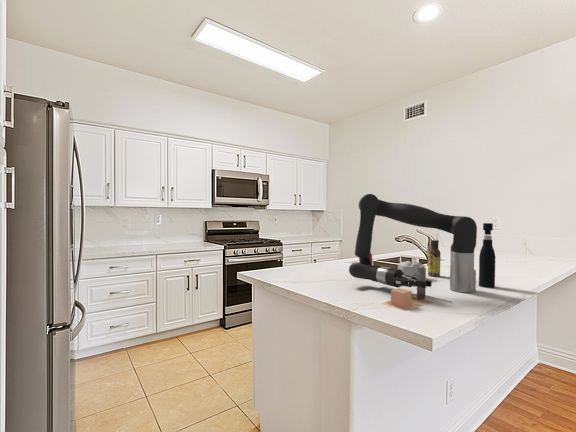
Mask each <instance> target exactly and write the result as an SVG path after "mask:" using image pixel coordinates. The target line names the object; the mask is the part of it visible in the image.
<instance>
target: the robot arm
mask: <svg viewBox="0 0 576 432" xmlns="http://www.w3.org/2000/svg"><path fill="white" fill-rule="evenodd" d="M358 209H359V210H360V216H359V217H360V218H359V226H358V231H357V235H356V241H355V247H354V248H355V249H354V256H355V257H357V258H359V259H358V260H359V262H353V263H351V264H350V265H349V268H348V272H349V274H350V275H351V276H352V277H353V278H355V279H360V280H361V279H362V280H368V281H372V282H376V283H379V284H383V285H386V286H390V287H394V288H401V287H408V288H412V287H414V288H417V287H421V288H425V289H426V288H427V287H429V288H431V287H432V284H433V283H432V281H431V280H427V279H426V282H422V281H417V275H413V276H411V275H408V274H405V275H404V273H403V271H402V270H400V269H398V268H393V267H389V266H380V265H373V264H372V265H371V259H370V252H371V249H372V242H373V231H374V224H375V219H376V216H378V217H384V218H387V219H391V220H393V221H396V222H399V223H403V224H406V225H411V226H415V227H420V228H428V229H436V230H439V231H443V232H446V233H448V234H452V236H453V238H452V239H453V240H452V244H451V245H450V259H449V260H450V264H449V265H450V266H449V267H450V268H449V270H450V271H449V277H450V278H449V289H450V290H452V291H454V292H458V293H474V292H476V287H477V285H476V283H477V282H476V281H477V278H476V277H477V270H476V269H475V249H476V246H477V235H478V227H477V222H476V221H475V220H474V219H473V218H472V217H470V216H462V215H450V214H443V213H440V212H437V211H434V210H432V209H429V208H428V207H427V208H426V207H424V206H423V207H422V206H419V205H414V204H410V203H399V202H398V203H397V202H388V201H385V200H382V199H379V198H378V197H377V195H375V194H373V193H366V194H363V196H361V197H360V199H359V202H358Z"/></svg>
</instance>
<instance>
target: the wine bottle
mask: <svg viewBox="0 0 576 432" xmlns="http://www.w3.org/2000/svg"><path fill="white" fill-rule="evenodd" d="M493 229H494V223H493V222H492V223H489V222H487V223H485V222H483V223H482V230H483V231H484V235H483V239H482V246H481V249H480V252H479V255H478V257H479V260H478V261H479V262H478V263H479V264H478V287H480V288H481V287H482V288H487V289H494V288H495V287H496V254H495V250H494V247H493V238H492V231H494V230H493Z"/></svg>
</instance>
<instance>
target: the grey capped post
mask: <svg viewBox="0 0 576 432" xmlns="http://www.w3.org/2000/svg"><path fill="white" fill-rule="evenodd" d="M426 272H427V268H426V267H425V268H424V267H417V281H422V282H426V280H427V279H426V278H427V277H426V276H427V275H426V274H427V273H426ZM425 295H426V288H421V287H416V295H414V294H412V298H411V305H410V306H407V307H400V306H396V305H393V304H391V300H388V301H385V302H381V303H380V304H381V305H385V306H389V307H391V308H394V309H398V310H401V311H405V312H406V311H409V310H413V309H415V308H419V307H423V306H425V305H429V304H432V303H435V302H436V300H435V299H431V298H427V297H426V296H425Z"/></svg>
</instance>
